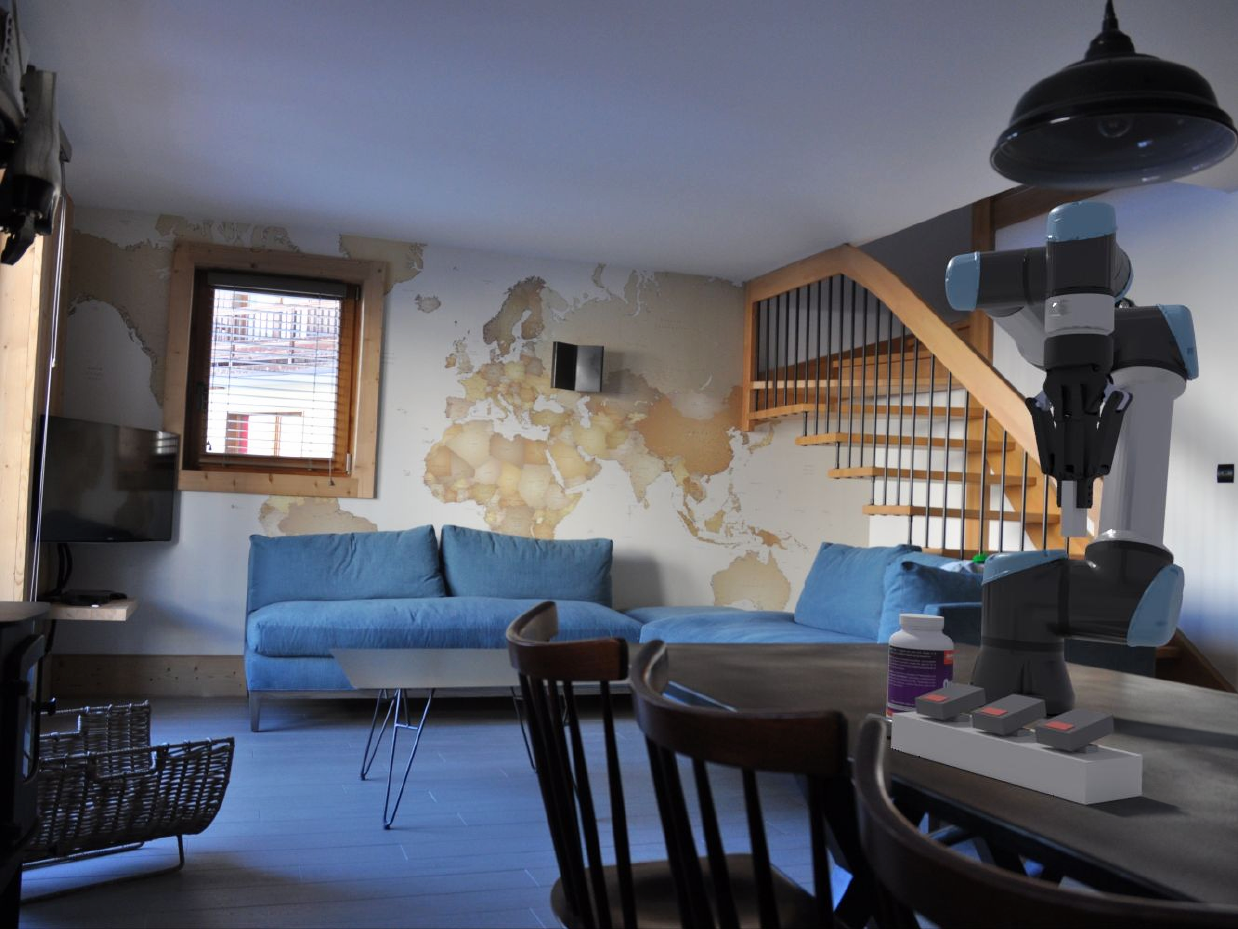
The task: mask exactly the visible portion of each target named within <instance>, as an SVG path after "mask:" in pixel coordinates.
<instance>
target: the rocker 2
mask: <svg viewBox="0 0 1238 929" xmlns="http://www.w3.org/2000/svg"><path fill="white" fill-rule="evenodd" d="M970 713H971V714H970V715H972V723H973V728H976V729H980V730H984V731H988V732H992V733H996V734H1000V735H1006V734H1008V733H1010V732H1013V731H1015V730H1017V729H1019V728H1022V727H1024V728H1025V727H1026V726H1028V725H1030V724H1033V723H1035V722H1037V721H1039V720H1041V719H1044V718H1046V717H1047V714H1046V709H1045V701H1044V700H1041V699H1036V698H1031V697H1026V696H1021V695H1017V694H1012V695H1009V696H1007V697H1005V698H1002V699H1000V700H998V701H995V702H993V703H990V704H988V705H986V706H980V707H979V708H977V709H976V708H975V709H974V710H970Z"/></svg>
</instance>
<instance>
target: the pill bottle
mask: <svg viewBox="0 0 1238 929" xmlns="http://www.w3.org/2000/svg"><path fill="white" fill-rule="evenodd" d="M898 619H899V620H898V623H899V626H900V630H899V631H895V632H894V633H893V634H891V635H890V637H889V639H888V659H887V660H888V662H887V664H888V665H887V666H888V667H887V668H888V669H887V691H886V692H887V693H886V694H887V695H886V714H885V715H886V716H885V717H887V718H891V719H892V713H904V712H916V704H915V698H916V697H919V696H922V695H925V694H927V693H930V692H933V691H935V690H938V689H941V688H944V687H946V686H949V685H952V684H954V681H953V680H954V678H953V677H954V674H953V673H954V651H955V650H954V642H953V641H952V639H951V637H949V636H948V635H946V634H944V633H943V629H944V628H945V627H944V626H945V616H941V615H934V614H921V613H900V614H899V618H898Z"/></svg>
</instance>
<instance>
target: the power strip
mask: <svg viewBox="0 0 1238 929" xmlns="http://www.w3.org/2000/svg"><path fill="white" fill-rule="evenodd" d="M870 718H881V719H883V720H884V721H886V723H887V728H888V731H887V732H889V733H891V737H890V738H891V739H890V742H891V743H890V749H892V748H893V750H895V749H896V751H898V750H899V752H903V753H906V754H909V755H912V756H916V757H919V756H920V758H923V759H926V760H930V761H934V762H936V763H941V764H944V765H947V766H951V767H953V768H954V767H955V768H957V769H961V770H965V771H968V772H971V773H975V774H978V775H981V776H985V777H989V778H992V779H996V780H999V781H1002V782H1005V783H1009V784H1012V785H1016V786H1019V787H1023V788H1026V789H1030V790H1033V791H1037V792H1040V793H1044V794H1046V795H1050V796H1053V795H1054V796H1053V797H1057V798H1061V799H1064V800H1067V801H1071V802H1075V803H1078V804H1080V805H1084V806H1086V805H1091V804H1097V803H1098V804H1099V803H1105V802H1110V801H1116V800H1125V799H1128V798H1129V799H1130V798H1137V797H1141V796H1142V791H1143V785H1142V784H1143V759H1144V758H1143V756H1144V755H1143V754H1139V753H1135V752H1131V751H1127V750H1122V749H1117V748H1113V747H1108V746H1104V745H1101V744H1097V743H1094V742H1091V743H1089V744H1087V745H1085V746H1082V747H1080V748H1078V749H1076V750H1073V751H1068V750H1064V749H1060V748H1055V747H1051V746H1047V745H1043V744H1039V743H1036V734H1035V729H1032V728H1028V727H1025V726H1024V727H1022V728H1019V729H1017V730H1015V731H1013V732H1010V733H1008V734H1006V735H1000V734H996V733H992V732H988V731H984V730H980V729H976V728H973V723H972V715H971V714H967V713H965V712H964V713H961V714H958V715H956V716H953V717H951V718H948V719H946V720H941V719H937V718H933V717H929V716H925V715H921V714H917V713H916V712H904V713H892V719H891V718H887V717H886V716H883V715H879V714H875V713H872V712H871V713H868V714H866V716H865V719H870Z"/></svg>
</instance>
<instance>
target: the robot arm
mask: <svg viewBox="0 0 1238 929" xmlns="http://www.w3.org/2000/svg"><path fill="white" fill-rule="evenodd" d="M1116 215H1117V211H1116V209H1115V207H1114V206H1113V205H1112V204H1111V203H1108V202H1104V201H1099V200H1098V201H1097V200H1082V201H1080V200H1079V201H1072V202H1067V203H1063V204H1061V205H1058V206H1056V207H1055V208H1053V209H1052V210H1051V211H1050V212H1049V214H1048V215H1047V216H1048V217H1047V224H1046V225H1047V226H1046V227H1047V228H1046V233H1045V234H1046V235H1045V236H1044V240H1045V242H1046V243H1045V245H1044V246H1034V247H1024V248H1014V249H1011V248H1010V249H1003V250H1002V249H999V250H989V251H975V252H972V253H966V254H965V253H964V254H960V255H956V256H954V257H952V258H951V259H950V261H948V264H947V267H946V270H945V271H946V273H945V282H944V283H945V285H944V286H945V295H946V298H947V301H948V303H949V306H950V307H951V308H952V309H953V310H955V311H970V312H974V311H977V310H978V311H979V310H980V311H983V312H984V313H985V314H986V315H987V316H988V317H989V318H990V319H992V320H993V322H994V323H996V324H997V325H998V326H999V327H1000V328H1001V329H1002V330H1003V331H1004V332H1006V333H1007V334H1008V336H1010V337H1011V339H1013V340H1014V341H1015V345H1016V346H1015V347H1016V348H1017V351H1018V353H1019V354H1020V356H1021V357H1022V358H1023V359H1024V360H1025V361H1027V363H1029V364H1031V366H1034V368H1036V369H1038V370H1041V371H1043V372H1045V373H1046V374H1045V379H1044V381H1043V383H1042V390H1041V391H1039V392H1038V393H1037V394H1036V395H1035V396H1034V397H1032V396H1028V397H1026V399H1025V400H1024V405H1025V407H1026V409H1027V410H1028V412H1029V414H1030V415H1031V420H1032V426H1033V432H1034V437H1035V442H1036V448H1037V453H1038V457H1039V458H1038V460H1039V464H1040V470H1041V473H1042V474H1043V475H1046V476H1049V477H1052V478H1053V479H1055V481H1056V501H1055V504H1056V506H1057V508H1058V509H1059V508H1060V510H1061V512H1060V537H1062V538H1065V537H1066V538H1087V537H1088V536H1087V532H1088V531H1087V530H1088V510H1089V509H1092V507H1093V505H1094V483H1095V481H1096V480H1097V479H1098V478H1101V477H1103V478H1102V479H1103V481H1102V489H1101V498H1100V499H1101V500H1100V510H1099V511H1100V512H1099V518H1098V519H1099V520H1098V531H1097V537H1096V538H1094V539H1093V540H1092V541H1090V542H1088V543H1087V544H1086V545H1085V548H1084V556H1083V559H1076V558H1074V559H1073V558H1069V554H1068V552H1067V550H1066V549H1064V548H1054V549H1035V550H1034V549H1033V550H1020V551H1008V552H1007V551H1005V552H997V553H992V554H990V555H988V556H987V557H986V559H985V561H984V564H983V575H982V576H983V577H982V582H981V584H980V586H981V588H982V589H981V590H982V591H981V593H982V594H981V617H980V618H981V623H980V624H981V625H980V627H981V628H980V629H981V630H980V632H981V633H980V649H979V654H978V656H977V659H976V661H975V664H974V666H973V669H972V673H971V676H970V680H969V681H968V683H967V685H970V686H975V687H979V688H984V691H985V700H986V704H984V705H982V706H981V707H983V706H986V705H988V704H990V703H993V702H995V701H998V700H1000V699H1002V698H1005V697H1007V696H1009V695H1012V694H1017V695H1021V696H1026V697H1031V698H1036V699H1041V700H1044V701H1045V709H1046V715H1061V714H1063V713H1066V712H1068V711H1071V710H1073V709H1075V708H1076V701H1077V700H1076V698H1077V697H1076V693H1075V691H1074V688H1073V684H1072V680H1071V676H1070V674H1069V670H1068V668H1067V663H1066V660H1065V656H1064V655H1065V639H1067V640H1078V641H1088V642H1094V643H1095V642H1097V643H1098V642H1099V643H1107V644H1115V645H1124V646H1125V645H1126V646H1129V647H1131V648H1132V647H1135V648H1136V647H1139V646H1140V647H1153V648H1156V647H1157V648H1158V647H1163V646H1165V645H1167V644H1169V642H1170V641H1171V640H1172V638H1173V637H1174V634H1175V632H1176V630H1177V628H1178V624H1179V620H1180V616H1181V612H1182V608H1183V607H1182V606H1183V600H1184V588H1185V584H1186V581H1185V571H1184V570H1185V569H1184V568H1183V567H1182V566H1180V565H1177V564H1176V563H1174V559H1175V558H1174V557H1175V556H1174V553H1173V552H1172V551H1171V550H1170V549H1169V548H1168V547H1167V546H1166V545H1165V544H1164V533H1165V521H1166V520H1165V518H1166V509H1167V506H1166V505H1167V493H1168V483H1169V482H1168V481H1169V480H1168V478H1169V470H1170V468H1169V466H1170V454H1171V453H1170V452H1171V440H1172V429H1173V415H1174V404H1175V403H1174V401H1175V400H1177V399H1179V397H1182V396H1183V395H1184V394H1185V392H1186V389H1187V383H1188V382H1187V381H1190V382H1191V381H1193V380H1197V379H1198V378H1199V376H1200V375H1199V374H1200V372H1199V371H1200V369H1199V367H1200V366H1199V357H1198V348H1197V342H1196V341H1197V339H1196V333H1195V332H1196V331H1195V326H1194V320H1193V316H1192V312H1191V310H1190V309H1189V307H1188V306H1186V305H1183V304H1161V303H1156V304H1155V305H1145V306H1143V305H1142V306H1126V307H1125V306H1124V307H1115V304H1116V303H1117V302H1119V301H1121V300H1122V299H1123V298H1124V297H1125V296H1126V295H1127V293H1128V292H1129V291H1130V289H1131V288H1132V285H1133V281H1134V268H1133V267H1132V266H1133V265H1132V262H1131V259H1130V257H1129V255H1128V254H1127V253H1126V251H1125V250H1123V249H1122V248H1121V247H1120V245H1119V244H1118V242H1117V231H1118V225H1117V216H1116ZM1103 403H1104V404H1103ZM1102 405H1103V407H1102ZM1101 407H1102V409H1101ZM1052 408H1053V411H1052Z"/></svg>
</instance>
